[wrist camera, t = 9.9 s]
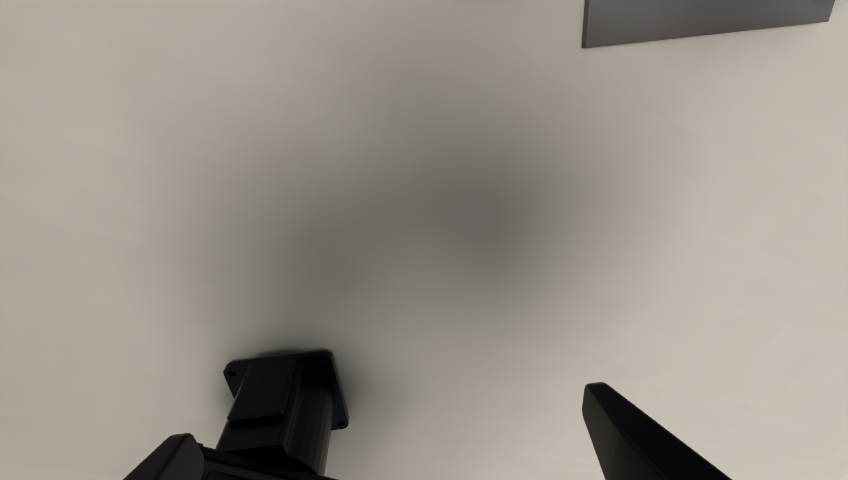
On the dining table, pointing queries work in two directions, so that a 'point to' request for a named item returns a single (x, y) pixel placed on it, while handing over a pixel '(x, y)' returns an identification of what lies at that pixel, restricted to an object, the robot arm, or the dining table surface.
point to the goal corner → (691, 18)
